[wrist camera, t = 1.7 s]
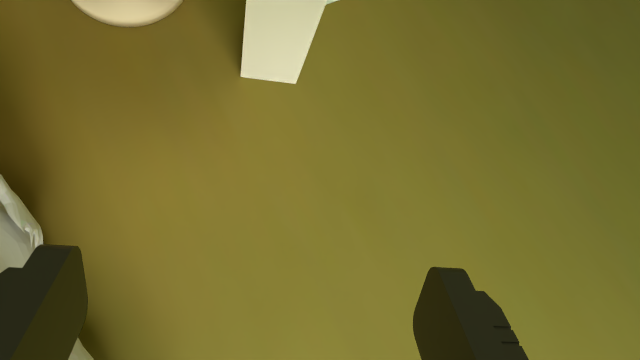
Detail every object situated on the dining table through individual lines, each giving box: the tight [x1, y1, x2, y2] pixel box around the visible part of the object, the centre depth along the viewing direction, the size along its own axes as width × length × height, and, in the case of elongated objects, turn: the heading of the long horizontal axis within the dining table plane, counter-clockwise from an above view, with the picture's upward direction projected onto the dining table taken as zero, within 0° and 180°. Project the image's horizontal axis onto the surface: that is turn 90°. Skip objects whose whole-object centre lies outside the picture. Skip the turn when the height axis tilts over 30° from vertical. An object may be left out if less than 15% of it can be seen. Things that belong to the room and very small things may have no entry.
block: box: [241, 0, 327, 84], centre depth 24 cm, size 4×4×11 cm
